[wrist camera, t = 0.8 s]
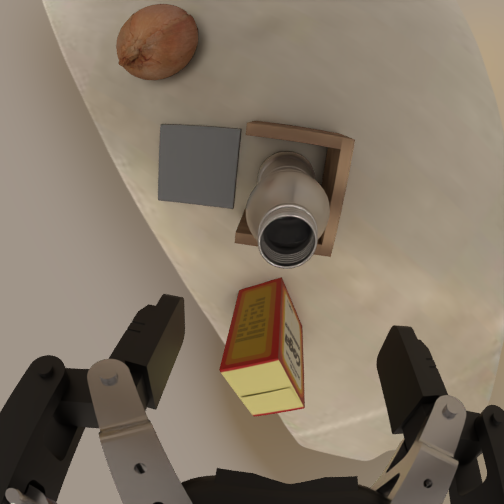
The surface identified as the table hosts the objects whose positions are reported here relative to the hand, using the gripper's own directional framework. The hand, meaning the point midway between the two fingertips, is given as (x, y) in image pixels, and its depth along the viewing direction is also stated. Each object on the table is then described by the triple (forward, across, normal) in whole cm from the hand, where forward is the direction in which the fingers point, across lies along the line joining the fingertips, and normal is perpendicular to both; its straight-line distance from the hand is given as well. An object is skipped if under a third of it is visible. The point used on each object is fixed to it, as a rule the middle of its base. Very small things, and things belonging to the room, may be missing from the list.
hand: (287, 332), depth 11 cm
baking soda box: (+28, -1, +20) cm, 35 cm away
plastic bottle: (+28, 0, 0) cm, 28 cm away
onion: (+28, +16, -15) cm, 36 cm away
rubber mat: (+28, +11, 0) cm, 30 cm away
